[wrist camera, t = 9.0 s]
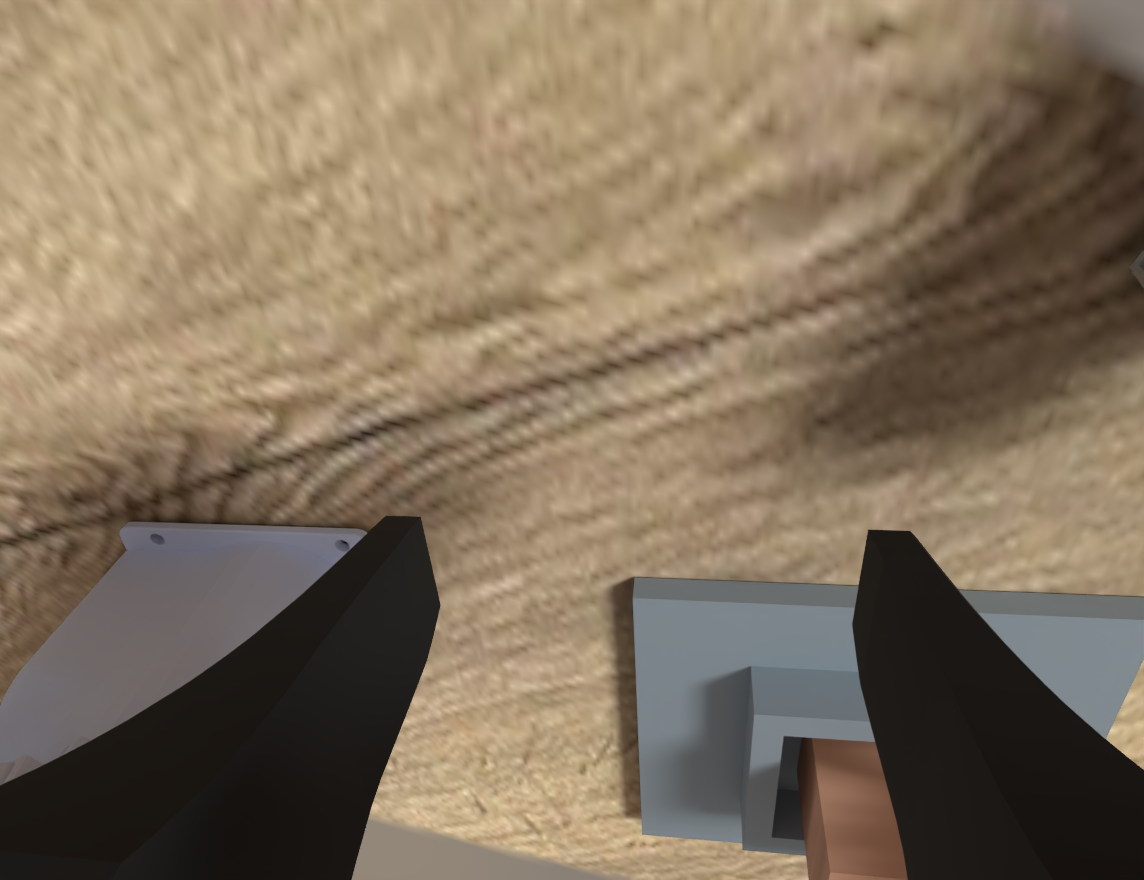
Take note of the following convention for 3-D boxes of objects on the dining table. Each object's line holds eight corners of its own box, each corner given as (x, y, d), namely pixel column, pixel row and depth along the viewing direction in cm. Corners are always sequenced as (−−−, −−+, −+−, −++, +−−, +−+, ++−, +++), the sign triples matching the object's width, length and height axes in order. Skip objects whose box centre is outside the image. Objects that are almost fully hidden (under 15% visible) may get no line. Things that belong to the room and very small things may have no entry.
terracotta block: (796, 771, 30) (815, 939, 25) (807, 702, 28) (830, 872, 23) (906, 779, 30) (948, 953, 25) (926, 710, 27) (976, 885, 23)
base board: (643, 812, 35) (639, 881, 32) (634, 577, 27) (628, 644, 25) (1035, 845, 32) (1062, 922, 30) (1146, 597, 25) (1196, 673, 22)
